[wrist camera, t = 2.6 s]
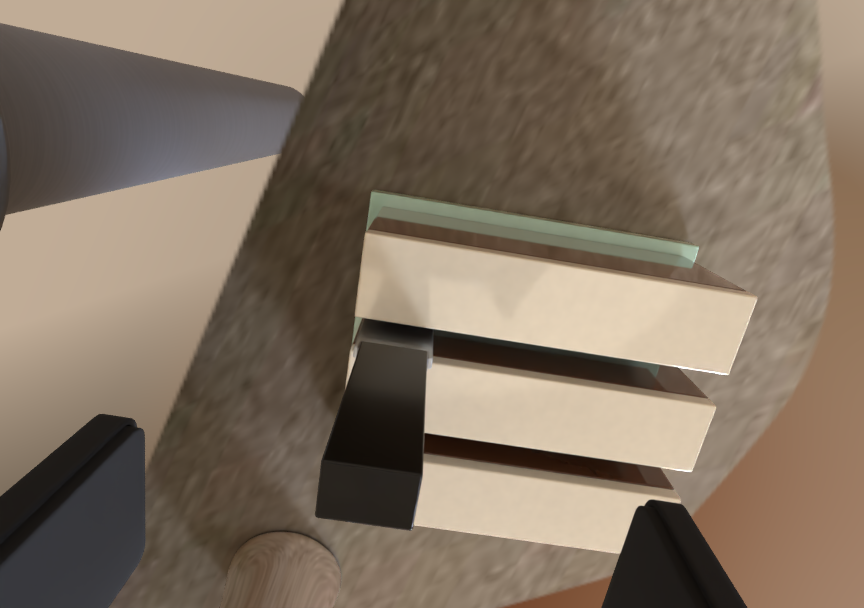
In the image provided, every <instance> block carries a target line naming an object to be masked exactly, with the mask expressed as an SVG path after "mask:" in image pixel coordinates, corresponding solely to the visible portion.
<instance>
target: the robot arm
mask: <svg viewBox="0 0 864 608" xmlns="http://www.w3.org/2000/svg"><path fill="white" fill-rule="evenodd" d="M144 436H145V435H144V431H143V429H141V428H137V425H136V422H135V420H133V419H132V418H125V417H119V416H113V415H106V414H99V415H97V416H96V417H94V418H93V419H92V420H91V421H89V422H88V423H87V424H86V425H85V426H83V427H82V428H81V429H80V430H79V431H77V432H76V433H75V434H74V435H73V436H72V437H70V438H69V439H68V440H67V441H66V442H64V443H63V444H62V445H61V446H60V447H59V448H57V449H56V450H55V451H54V452H53V453H51V454H50V455H49V456H48V457H47V458H46V459H44V460H43V461H42V462H41V463H40V464H39V465H37V466H36V467H35V468H34V469H32V470H31V471H30V472H29V473H28V474H26V475H25V476H24V477H23V478H22V479H21V480H19V481H18V482H17V483H16V484H15V485H13V486H12V487H11V488H10V489H9V490H8V491H6V492H5V493H4V494H3V495H2V496H0V608H108V607H109V606H110V604H111V603H112V602H113V600H114V599H115V597H116V596H117V594H118V593H119V591H120V590H121V589H122V587H123V586H124V584H125V583H126V581H127V580H128V578H129V577H130V576H131V574H132V573H133V571H134V570H135V568H136V567H137V565H138V564H139V562H140V560H141V558H142V555H143V552H144V548H145V437H144ZM602 608H747V606H746V605H745V603H744V601H743V600H742V598H741V597H740V595H739V593H738V592H737V590H736V589H735V587H734V585H733V584H732V582H731V581H730V579H729V577H728V576H727V574H726V572H725V571H724V570H723V568H722V566H721V564H720V563H719V561H718V560H717V558H716V556H715V555H714V553H713V552H712V550H711V548H710V547H709V545H708V544H707V542H706V540H705V539H704V537H703V536H702V534H701V532H700V531H699V529H698V528H697V526H696V524H695V523H694V521H693V519H692V518H691V516H690V515H689V513H688V511H687V510H686V508H685V507H684V506H683V505H681V504H679V503H673V502H666V501H660V500H654V499H651V500H648V501H647V502H646V504H645V506H638V507H637V508H636V511H635V513H634V516H633V519H632V522H631V524H630V527H629V530H628V533H627V536H626V539H625V542H624V545H623V547H622V550H621V553H620V556H619V559H618V562H617V565H616V568H615V570H614V573H613V576H612V579H611V582H610V585H609V588H608V591H607V594H606V596H605V599H604V602H603V605H602Z"/></svg>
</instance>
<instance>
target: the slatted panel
mask: <svg viewBox="0 0 864 608" xmlns="http://www.w3.org/2000/svg"><path fill="white" fill-rule="evenodd" d="M698 249H699V246H697V245H695V244H693V243H690V242H684V241H678V240H672V239H666V238H660V237H654V236H648V235H643V234H637V233H631V232H625V231H619V230H613V229H607V228H601V227H595V226H589V225H583V224H577V223H571V222H565V221H559V220H553V219H547V218H541V217H535V216H529V215H524V214H518V213H512V212H506V211H500V210H494V209H488V208H482V207H476V206H470V205H464V204H458V203H452V202H446V201H440V200H434V199H428V198H422V197H416V196H410V195H405V194H399V193H393V192H387V191H381V190H375V189H374V190H373V191H372V192H371V197H370V205H369V213H368V220H367V228H366V233H365V236H364V244H363V252H362V259H361V267H360V275H359V283H358V291H357V299H356V307H355V322H354V330H353V338H352V346H351V349H350V354H349V362H348V370H347V377H346V385H345V389H346V386H347V383H348V380H349V377H350V374H351V371H352V368H353V365H354V362H355V359H356V357H353V351H354V346H355V343H356V340H357V337H358V334H359V332H360V329H361V326H362V323H363V320H364V318H367V319H373V320H379V321H386V322H392V323H398V324H405V325H411V326H418V327H424V328H430V329H433V362H432V367H431V369H427V377H426V405H425V433H424V461H423V478H422V483H421V488H420V494H419V499H418V504H417V509H416V515H415V520H414V525H416V526H424V527H431V528H438V529H445V530H452V531H460V532H467V533H474V534H481V535H488V536H495V537H503V538H510V539H517V540H524V541H531V542H538V543H546V544H553V545H560V546H567V547H574V548H581V549H589V550H596V551H603V552H610V553H617V554H620V553H621V550H622V547H623V545H624V542H625V539H626V536H627V533H628V530H629V527H630V524H631V522H632V519H633V516H634V513H635V511H636V508H637V507H638V506H645V504H646V502H647V501H648V500H651V499H654V500H660V501H666V502H673V503H679V504H680V501H681V499H680V497H679V496H678V494H677V492H676V491H675V490H674V488H673V487H672V485H671V483H670V482H669V480H668V479H667V477H666V476H665V474H664V473H663V471H662V470H661V468H667V469H674V470H680V471H687V472H692V470H693V467H694V465H695V462H696V460H697V457H698V454H699V452H700V449H701V446H702V444H703V441H704V438H705V436H706V433H707V431H708V428H709V425H710V423H711V420H712V417H713V415H714V412H715V410H716V406H715V405H714V404H713V402H712V401H711V400H710V399H708V397H707V396H706V395H705V394H704V393H703V392H702V391H701V390H700V389H699V388H698V387H697V386H696V385H695V384H694V383H693V382H692V381H691V380H690V379H689V378H688V377H687V376H686V375H685V374H684V373H683V372H682V371H681V370H680V369H679V368H686V369H692V370H698V371H705V372H711V373H717V374H724V375H728V374H729V372H730V370H731V367H732V364H733V362H734V359H735V357H736V354H737V351H738V349H739V346H740V343H741V341H742V338H743V336H744V333H745V330H746V328H747V325H748V322H749V320H750V317H751V314H752V312H753V309H754V307H755V304H756V301H757V297H756V296H755V295H753V294H751V293H749V292H747V291H745V290H743V289H742V288H740V287H738V286H736V285H734V284H733V283H731V282H729V281H727V280H725V279H724V278H722V277H720V276H718V275H716V274H715V273H713V272H711V271H709V270H707V269H706V268H704V267H702V266H700V265H698V264H697V263H695V262H694V261H695V258H696V255H697V252H698ZM678 367H679V368H678Z"/></svg>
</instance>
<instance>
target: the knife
mask: <svg viewBox="0 0 864 608" xmlns="http://www.w3.org/2000/svg"><path fill="white" fill-rule="evenodd" d="M353 357H356V359H355V362H354V365H353V368H352V371H351V374H350V377H349V380H348V383H347V386H346V389H345V392H344V395H343V398H342V401H341V404H340V407H339V410H338V413H337V416H336V419H335V422H334V425H333V428H332V431H331V434H330V437H329V440H328V443H327V446H326V449H325V452H324V455H323V458H322V461H321V469H320V477H319V486H318V494H317V503H316V511H315V516H316V517H317V518H323V519H330V520H337V521H345V522H352V523H359V524H366V525H373V526H381V527H388V528H395V529H402V530H409V531H410V530H412V529H413V525H414V520H415V515H416V509H417V504H418V499H419V494H420V488H421V483H422V478H423V461H424V433H425V405H426V377H427V369H431V367H432V362H433V329H430V328H424V327H418V326H411V325H405V324H398V323H392V322H386V321H379V320H373V319H367V318H364V320H363V323H362V326H361V329H360V332H359V334H358V337H357V340H356V343H355V346H354V351H353Z"/></svg>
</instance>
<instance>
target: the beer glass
mask: <svg viewBox="0 0 864 608" xmlns="http://www.w3.org/2000/svg"><path fill="white" fill-rule="evenodd" d="M340 588H341V572H340V568H339V565H338V563H337V561H336V559H335V558H334V556H333V555H332V554H331V553H330V552H329V551H328V550H327V549H326V548H325V547H324V546H323V545H321V544H320V543H319V542H317V541H315V540H313V539H311V538H309V537H307V536H304V535H301V534H297V533H292V532H271V533H265V534H262V535H259V536H256V537H254V538H252V539H250V540H249V541H247V542H246V543H245V544H243V545H242V546H241V547H240V548H239V550H238V551H237V552H236V554H235V555H234V557H233V559H232V561H231V564H230V567H229V571H228V575H227V579H226V584H225V588H224V593H223V597H222V600H221V604H220V606H219V608H334V605H335V603H336V601H337V598H338V595H339V592H340Z"/></svg>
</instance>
